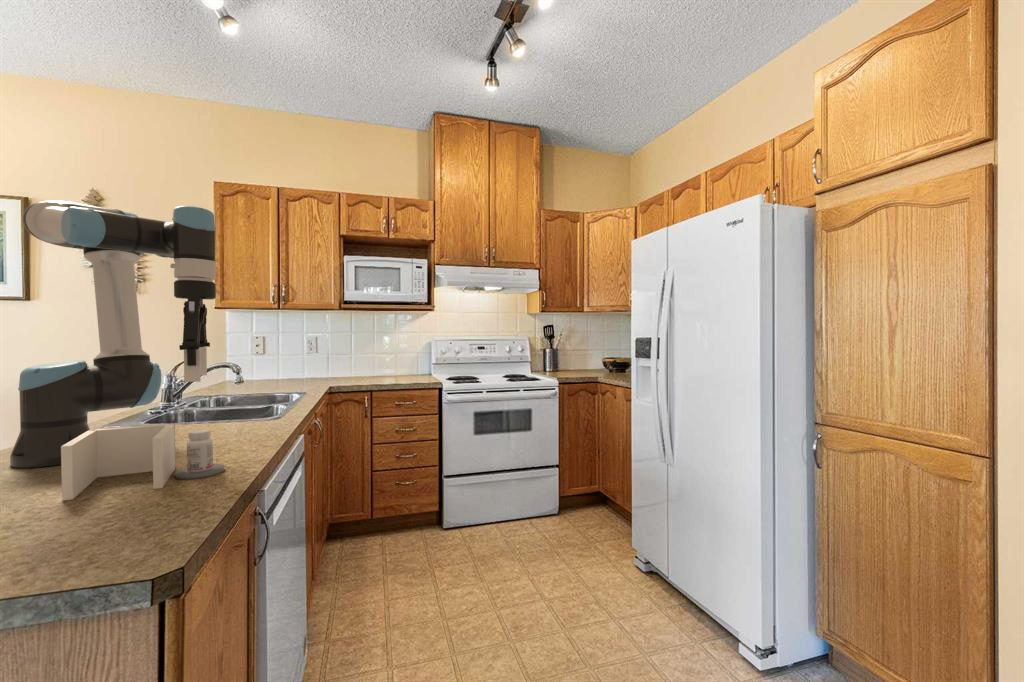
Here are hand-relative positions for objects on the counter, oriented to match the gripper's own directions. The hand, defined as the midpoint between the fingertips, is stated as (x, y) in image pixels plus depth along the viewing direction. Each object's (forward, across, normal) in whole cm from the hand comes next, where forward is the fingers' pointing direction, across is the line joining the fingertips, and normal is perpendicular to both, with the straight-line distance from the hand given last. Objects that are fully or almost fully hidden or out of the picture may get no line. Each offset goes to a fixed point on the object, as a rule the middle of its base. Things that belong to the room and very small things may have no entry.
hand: (196, 378), depth 103 cm
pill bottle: (+20, 0, +1) cm, 20 cm away
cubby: (+21, 0, -12) cm, 24 cm away
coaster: (+21, 0, +1) cm, 21 cm away
